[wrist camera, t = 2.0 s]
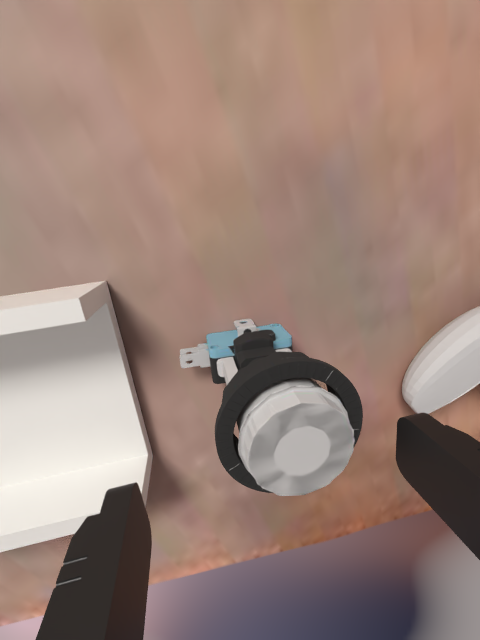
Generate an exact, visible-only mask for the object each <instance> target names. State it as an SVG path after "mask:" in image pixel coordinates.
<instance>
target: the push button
mask: <svg viewBox="0 0 480 640" xmlns="http://www.w3.org/2000/svg"><path fill="white" fill-rule="evenodd" d="M241 322H247V323H244V324H241ZM234 324H235V326H236V328H237V330H232V331H225V332H218V333H211V334H208V335H207V336H206V338H207V343H204V344H198V347H193V348H186V349H181V350H180V355H181V356H180V363H181V367H182V368H188V367H194V366H200V367H201V368H203V367H209V366H211V373H212V378H213V382H214V383H215V384H221V383H226V384H227V386H226V387H225V389H224V391H223V399H222V405H221V407H220V409H219V412H218V415H217V419H216V424H215V441H216V448H217V452H218V456H219V459H220V461H221V463H222V465H223V466H224V468H225V469H226V471H227V472H228V473H229V474H230V475H231V476H232V477H233V478H234V479H235V480H236V481H238V482H239V483H241V484H242V485H244V486H246V487H249V488H251V489H254V490H257V491H262V492H268V493H275V494H277V495H280V496H294V495H306V494H308V493H310V492H313V491H315V490H317V489H320V488H322V487H325V486H326V485H328V484H329V483H330V482H331V481H332V480H333V479H334V478H335V477H336V476H338V475H339V474H340V473H341V472H342V471H343V470H344V468H345V466H346V465H347V464H348V461H349V458H350V456H351V454H352V452H353V448H354V446H355V444H356V442H357V440H358V437H359V435H360V431H361V427H362V418H363V413H362V405H361V400H360V397H359V395H358V393H357V391H356V389H355V387H354V386H353V384H352V383H351V382H350V381H349V379H348V378H347V377H345V376H344V375H343V374H342V373H341V372H340V371H339V370H338V369H336V368H335V367H333V366H331V365H330V364H328V363H326V362H323V361H320V360H317V359H312V358H309V357H308V356H306V355H305V354H303V353H301V352H292V337H291V335H290V334H289V333H288V332H287V331H286V330H285V329H284V328H283V327H282V326H281V325H280V324H270V325H266V326H259V327H256V325H255V324H254V322H253V321H252V320H251V319H243V320H236V321H234ZM187 352H192V354H186V353H187ZM191 360H193V362H192V363H190V364H188V363H186V361H191ZM314 379H315V380H319V381H321V382H324V383H326V386H327V389H328V391H326V390H324V389H323V388H321V387H320V386H319V385H318V383H317V382H316V381H315V380H314ZM236 421H237V425H238V429H239V439H238V438H237V437H236V436H235V435H234V433H233V432H234V427H235V423H236Z"/></svg>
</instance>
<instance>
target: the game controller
mask: <svg viewBox="0 0 480 640" xmlns="http://www.w3.org/2000/svg"><path fill="white" fill-rule="evenodd" d="M479 383H480V306H478V307H476V308H474V309H472V310H469V311H467V312H466V313H464V314H462V315H460V316H459V317H457V318H456V319H454V320H453V321H451V322H450V323H448V324H447V325H446V326H444V327H443V328H442V329H441V330H439V331H438V332H437V333H436V334H435V335H434V336H433V337H432V338H431V339H429V341H428V342H427V343H426V344H425V345H424V346H423V347H422V348H421V350H420V351H419V352H418V353H417V355H416V356H415V357H414V359H413V361H412V362H411V364H410V365H409V367H408V369H407V371H406V373H405V376H404V379H403V383H402V395H403V398H404V400H405V401H406V403H407V404H408V405H409V406H410V407H411V408H412V410H413V411H414V412H415V413H416V414H418V413H427V414H429V413H431V412H433V411H435V410H437V409H439V408H441V407H443V406H445V405H447V404H449V403H450V402H452V401H454V400H455V399H457V398H459V397H460V396H462V395H463V394H465V393H467V392H468V391H470V390H471V389H472V388H474V387H475V386H476V385H478V384H479Z"/></svg>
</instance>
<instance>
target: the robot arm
mask: <svg viewBox="0 0 480 640" xmlns="http://www.w3.org/2000/svg"><path fill="white" fill-rule="evenodd" d="M396 461H397V465H398V467H399V470H400V472H401V473H402V475H403V477H404V478H405V479H406V480H407V481H408V482H409V484H410V485H411V486H412V487H413V488H414V489H415V490H416V491H417V492H418V493H419V494H420V496H421V497H422V498H423V499H424V500H425V501H426V502H427V503H428V504H429V505H430V506H431V508H432V509H433V510H434V511H435V512H436V513H437V514H438V515H439V516H440V517H441V518H442V520H443V521H444V522H445V523H446V524H447V525H448V526H449V527H450V528H451V529H452V530H453V531H454V533H455V534H456V535H457V536H458V537H459V538H460V539H461V540H462V541H463V542H464V544H465V545H466V546H467V547H468V548H469V549H470V550H471V551H472V552H473V553H474V554H475V556H476V557H477V558H478V559H479V560H480V442H478V441H477V440H475V439H474V438H472V437H471V436H470V435H468V434H466V433H464V432H461V431H459V430H457V429H455V428H452V427H450V426H448V425H445V426H444V425H443V424H441V423H440V422H438V421H437V420H436V419H434V418H433V417H432V416H430V415H429V414H427V413H418V414H414V415H410V416H406V417H402V418H400V419H399V420H398V422H397V441H396ZM151 545H152V540H151V528H150V522H149V519H148V515H147V512H146V508H145V505H144V502H143V498H142V495H141V491H140V488H139V485H138V483H136V482H135V483H131V484H127V485H123V486H119V487H115V488H111V489H108V490H107V491H106V494H105V497H104V500H103V504H102V507H101V511H100V513H99V514H95V515H92V516H88V517H87V518H86V519H85V520H84V522H83V523H82V525H81V526H80V527H79V529H78V530H77V532H76V533H75V534H74V536H73V537H72V539H71V542H70V545H69V547H68V550H67V553H66V556H65V559H64V562H63V563H64V565H63V567H61V570H60V573H59V576H58V578H57V581H56V588H54V590H53V592H52V595H51V598H50V601H49V604H48V606H47V609H46V612H45V615H44V618H43V621H42V623H41V626H40V629H39V632H38V635H37V637H36V640H143V635H144V624H145V613H146V602H147V591H148V580H149V569H150V558H151Z"/></svg>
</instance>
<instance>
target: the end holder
mask: <svg viewBox="0 0 480 640" xmlns="http://www.w3.org/2000/svg"><path fill="white" fill-rule="evenodd" d="M152 460H153V454H152V450H151V446H150V443H149V439H148V435H147V431H146V428H145V424H144V420H143V416H142V413H141V409H140V405H139V401H138V398H137V394H136V390H135V386H134V383H133V379H132V375H131V371H130V368H129V364H128V360H127V356H126V353H125V349H124V345H123V341H122V338H121V334H120V330H119V326H118V323H117V319H116V315H115V311H114V308H113V304H112V300H111V296H110V292H109V289H108V285H107V281H101V282H94V283H87V284H81V285H74V286H67V287H60V288H54V289H47V290H40V291H34V292H27V293H20V294H14V295H7V296H0V552H3V551H7V550H11V549H15V548H19V547H23V546H27V545H31V544H35V543H39V542H43V541H47V540H51V539H55V538H59V537H63V536H67V535H71V534H75V533H76V532H77V530H78V529H79V527H80V526H81V525H82V523H83V522H84V520H85V519H86V518H87V517H88V516H92V515H95V514H99V513H100V511H101V507H102V504H103V500H104V497H105V494H106V491H107V490H108V489H111V488H115V487H119V486H123V485H127V484H131V483H135V482H136V483H138V485H139V488H140V491H141V495H142V498H143V502H144V505H145V508H146V501H147V494H148V487H149V481H150V474H151V467H152Z"/></svg>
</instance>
